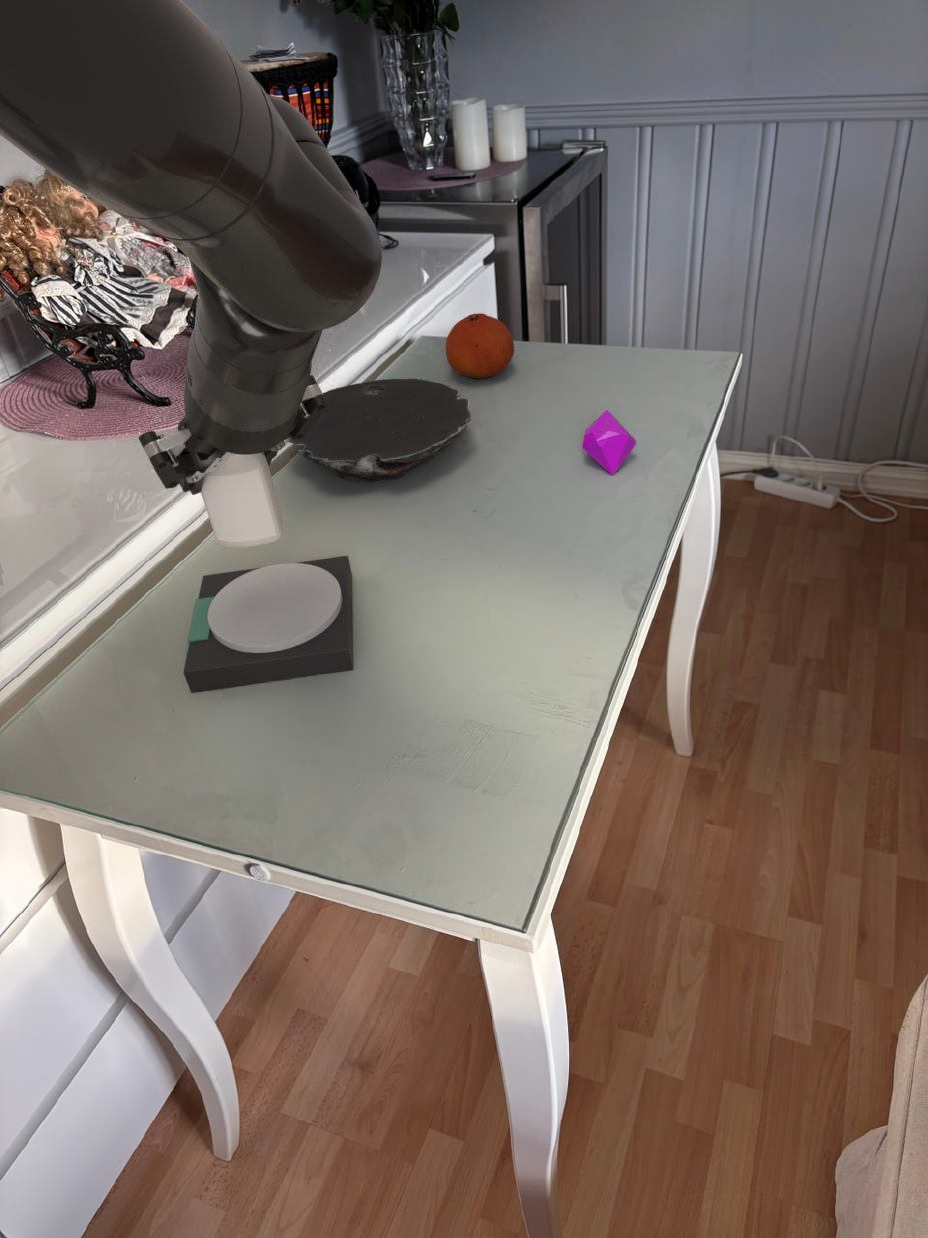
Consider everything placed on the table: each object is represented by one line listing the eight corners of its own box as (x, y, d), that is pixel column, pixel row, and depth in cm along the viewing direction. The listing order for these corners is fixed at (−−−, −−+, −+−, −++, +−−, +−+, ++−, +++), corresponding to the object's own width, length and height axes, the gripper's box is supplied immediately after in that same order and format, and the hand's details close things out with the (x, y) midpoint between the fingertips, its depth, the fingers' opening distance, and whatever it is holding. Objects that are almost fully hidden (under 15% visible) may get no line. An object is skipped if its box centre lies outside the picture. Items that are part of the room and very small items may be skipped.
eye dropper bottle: (261, 558, 74) (221, 423, 66) (209, 543, 76) (165, 412, 69) (293, 529, 77) (259, 398, 69) (243, 517, 79) (204, 388, 72)
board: (344, 403, 119) (337, 366, 116) (501, 417, 112) (498, 378, 109) (256, 490, 104) (245, 450, 101) (431, 513, 96) (426, 471, 93)
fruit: (441, 388, 120) (434, 329, 115) (459, 359, 127) (453, 302, 121) (506, 390, 118) (502, 330, 113) (521, 361, 124) (518, 303, 119)
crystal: (576, 461, 102) (575, 424, 99) (610, 443, 104) (610, 406, 101) (609, 477, 99) (610, 439, 96) (644, 458, 101) (645, 421, 98)
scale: (189, 693, 78) (179, 665, 76) (208, 595, 89) (199, 568, 87) (353, 670, 78) (346, 641, 76) (351, 575, 89) (346, 548, 87)
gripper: (167, 465, 56) (162, 544, 71) (370, 390, 61) (324, 479, 77) (112, 358, 56) (120, 460, 72) (319, 293, 61) (284, 401, 77)
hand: (226, 469), depth 74 cm, fingers closed on eye dropper bottle, 5 cm apart
